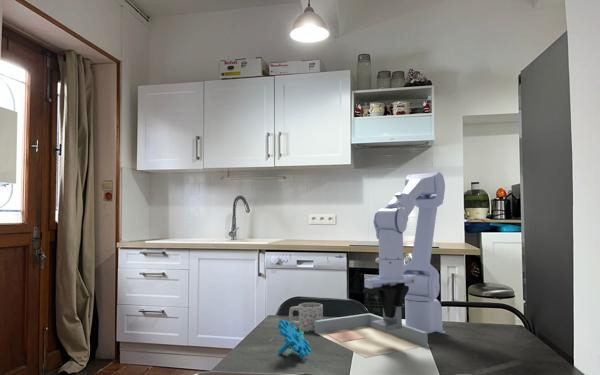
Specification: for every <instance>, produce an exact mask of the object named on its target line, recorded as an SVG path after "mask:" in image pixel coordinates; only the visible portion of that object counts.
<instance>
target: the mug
mask: <svg viewBox="0 0 600 375" xmlns="http://www.w3.org/2000/svg"><path fill="white" fill-rule="evenodd" d="M294 311H297V312H298V320H297V321H296V320H294V318H293V313H294ZM323 313H324V307H323V304H322V303H317V302H302V303H299V304H298V305H297V306H291V307H289V313H288V319H289V320H288V321H289V322H290V323H291V324H290V325H295V326H296V327H298V332H300V331H301V330H302V331H303V332H305V333H306V332H312V331H315V321H316V320H324V318H323V317H324V314H323Z"/></svg>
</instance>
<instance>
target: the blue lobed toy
mask: <svg viewBox="0 0 600 375" xmlns="http://www.w3.org/2000/svg"><path fill="white" fill-rule="evenodd" d="M291 325H292V326H291ZM276 327H277V328H278V329H279V331H278V333H279V335H280V336H281V337H285V338H284V339H283V341H284V342H285V343H284V345H282V347H281V348H280V349H279V350H277V351H278V354H279V355H283V354H284V353H285V352H286V350H287V349H291V350H292V351H293V352H294V354H296V353H297V352H298V351H299V352H298V355H299V356H300V357H302V358H304V357H306V358H307V356H306V355H310V352H311V351H312V348H311V347H310V341H308V340H307V339H305V335H304V334H305V333H304V332H303V331H302V330H301V331H297V330H298V326H296V325H294V324H291V323H290V320H284V319H282V318H281V319H280V320H279V321H278V324H277V326H276Z"/></svg>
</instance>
